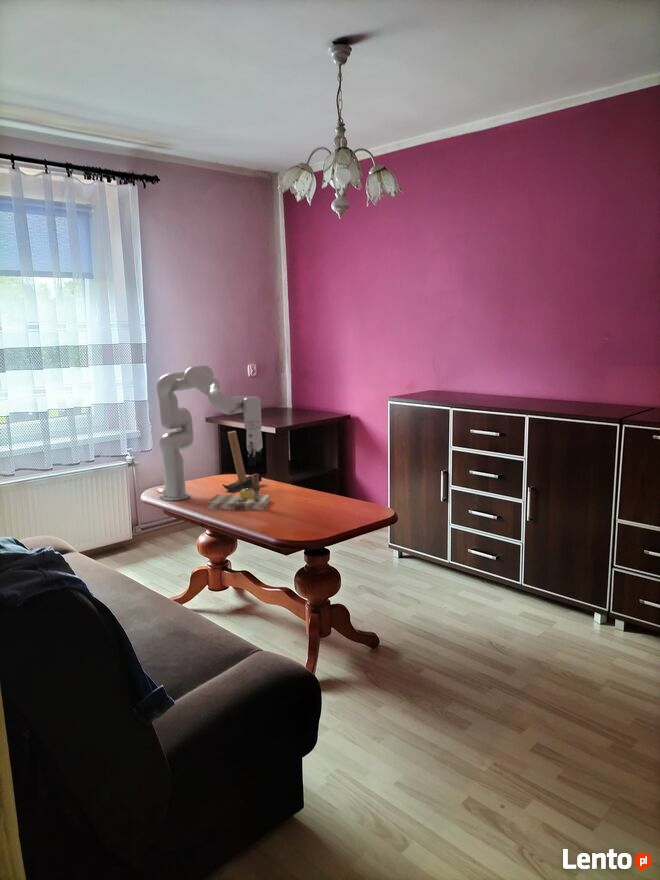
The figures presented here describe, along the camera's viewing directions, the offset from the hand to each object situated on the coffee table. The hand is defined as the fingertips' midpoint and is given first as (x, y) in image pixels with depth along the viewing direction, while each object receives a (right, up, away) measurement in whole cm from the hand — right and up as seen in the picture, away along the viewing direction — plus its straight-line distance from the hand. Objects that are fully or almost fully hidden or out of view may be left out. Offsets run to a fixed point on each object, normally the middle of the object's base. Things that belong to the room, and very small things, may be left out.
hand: (255, 463), depth 284 cm
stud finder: (-4, -16, +10) cm, 19 cm away
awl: (0, -17, +3) cm, 17 cm away
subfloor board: (-8, -19, +8) cm, 22 cm away
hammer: (-11, -14, +38) cm, 42 cm away
